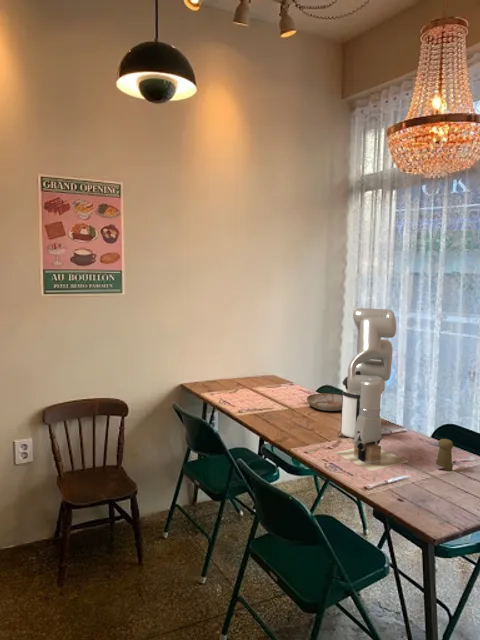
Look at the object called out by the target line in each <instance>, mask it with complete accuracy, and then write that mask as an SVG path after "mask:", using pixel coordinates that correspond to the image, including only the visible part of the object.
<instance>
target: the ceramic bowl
mask: <svg viewBox="0 0 480 640" xmlns="http://www.w3.org/2000/svg"><path fill="white" fill-rule="evenodd" d="M306 402H307V403H308V404H309V405H310V406H311V407H313V408H314V409H317V410H321V411H327V412H337V411H338V412H339V411H342V394H336V393H322V392H321V393H313V394H310V395H307V397H306Z"/></svg>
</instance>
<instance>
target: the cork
mask: <svg viewBox="0 0 480 640" xmlns="http://www.w3.org/2000/svg"><path fill="white" fill-rule="evenodd" d="M437 445H438V448H439V450H438V453H437V458H436V461H435V462H436V465H437V466H439V467H441V468H438V470H439V471H443V472H451V471H453V470H454V469H453V459H452V458H453V456H452V449H453V448H454V443H453V441H452V440H450V439H448V438H441V439H439V440H438V443H437Z"/></svg>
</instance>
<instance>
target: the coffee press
mask: <svg viewBox="0 0 480 640" xmlns="http://www.w3.org/2000/svg"><path fill="white" fill-rule="evenodd" d="M355 374H356V375H360V374H361V373H360V371H356V373H355ZM347 378H348V376H345V378H344V379H343V380H342V387H343V388H342V394H341V395H342V410H340V412H341V414H340V430H339V431H338V433H337V437H338V438H341V437H343V436H345V437H346V438H350V439H354V434H355V426H356V421H357V417H358V416H359V412H360V394H354V393H351V392H349V390H348V387H347ZM340 433H341V434H340ZM339 434H340V435H339Z"/></svg>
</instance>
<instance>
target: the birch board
mask: <svg viewBox="0 0 480 640" xmlns="http://www.w3.org/2000/svg"><path fill="white" fill-rule="evenodd" d="M334 454H336V455H337V456H340V457H342V458H344V459H345V460H348V461H350V462H352V463H353V464H355V465H357V466H359V467H360V468H361V467H362V468H363V469H366V470H368V471H369V472H373V471H377V470H381V469H386V468H389V467H393V466H396V465H397V466H398V465H401V464H404V463H409V462H410V461H409V460H407V459H406V458H405V459H404V458H402V457H400V456H397V455H395V454H394V453H391V452H388V451H387V450H384V449H382V448H381V458H380V462H377V463H373V464H369V463H367V462H365V461H362V460H360V459H358V458H357V457H355V456H354V447H353V448H349V449H345V450H339V451H336V452H334Z"/></svg>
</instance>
